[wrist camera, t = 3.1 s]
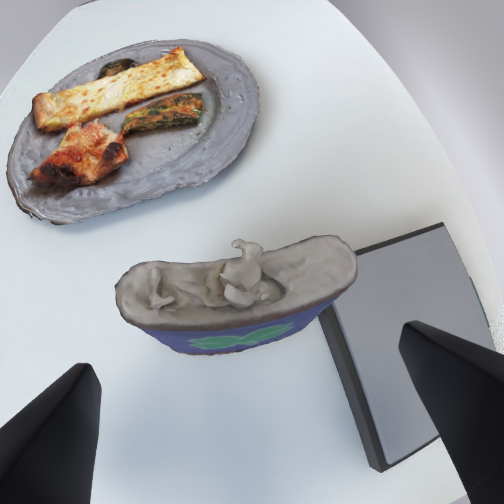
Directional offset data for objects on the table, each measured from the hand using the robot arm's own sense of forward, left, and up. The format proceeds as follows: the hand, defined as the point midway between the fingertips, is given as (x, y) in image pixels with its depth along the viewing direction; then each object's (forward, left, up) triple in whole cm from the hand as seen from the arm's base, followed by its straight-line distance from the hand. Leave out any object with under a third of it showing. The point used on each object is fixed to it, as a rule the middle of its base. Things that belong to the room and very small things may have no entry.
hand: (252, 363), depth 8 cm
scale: (-2, -11, -11) cm, 16 cm away
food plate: (+24, +5, -11) cm, 27 cm away
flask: (+3, 0, -11) cm, 11 cm away
